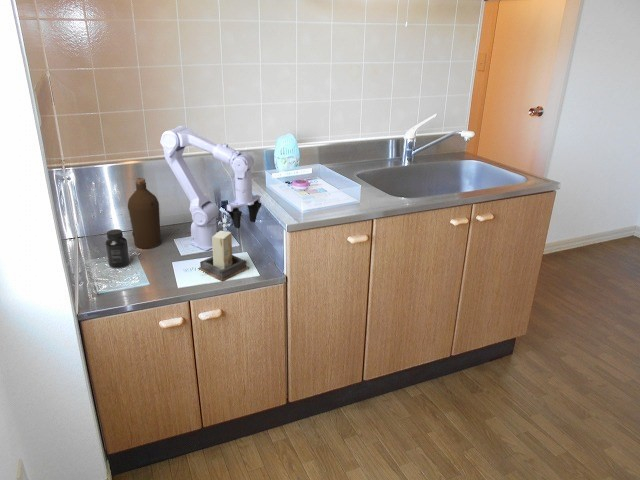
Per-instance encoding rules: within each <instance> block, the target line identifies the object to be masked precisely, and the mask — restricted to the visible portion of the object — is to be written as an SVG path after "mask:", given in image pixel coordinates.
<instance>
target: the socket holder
mask: <svg viewBox="0 0 640 480" xmlns="http://www.w3.org/2000/svg"><path fill="white" fill-rule="evenodd" d="M199 263H200V265H199V267H198V268H197V270H198V269H199V270H201V271H203V272H202V273H204V272H205V273H204V274H206V275H208V276H210V277H212V278H214V279H216V280H218V281H220V282H224V281H226V280H228V279H229V280H230V279H231V278H233V277H234V276H237V275H239V274H241V273H243V272H245V271H247V270H249V269H250V267H249V266H248V265H247V260H245V259H243V258H240V257H238V256H236V255H234V254H232V265H231V266H229V267H227V268H225V269H223V270H222V269H220V268H218V267H215V266H213V256H210V257H208V258H206V259H204V260H201V261H200V262H199ZM199 270H198V271H199ZM201 271H200V272H201Z"/></svg>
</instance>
